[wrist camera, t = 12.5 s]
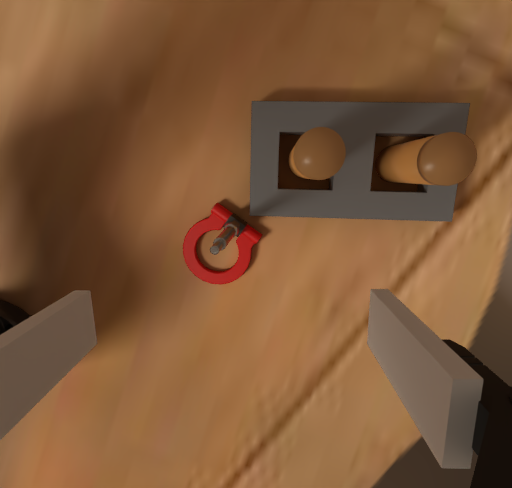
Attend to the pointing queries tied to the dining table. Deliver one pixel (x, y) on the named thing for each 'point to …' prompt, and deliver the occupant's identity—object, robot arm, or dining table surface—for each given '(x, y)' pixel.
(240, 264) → the tow hook
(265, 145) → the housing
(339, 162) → the peg
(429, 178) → the cylinder
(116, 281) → the dining table surface
